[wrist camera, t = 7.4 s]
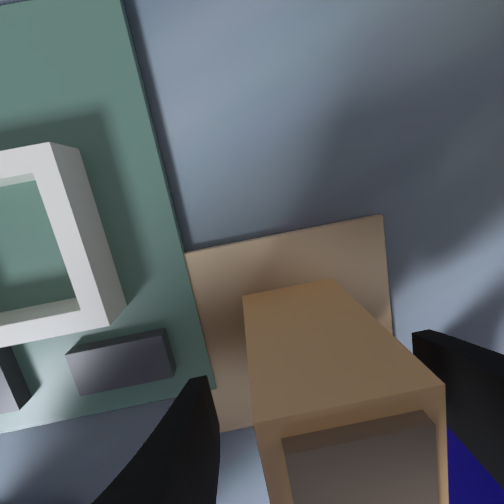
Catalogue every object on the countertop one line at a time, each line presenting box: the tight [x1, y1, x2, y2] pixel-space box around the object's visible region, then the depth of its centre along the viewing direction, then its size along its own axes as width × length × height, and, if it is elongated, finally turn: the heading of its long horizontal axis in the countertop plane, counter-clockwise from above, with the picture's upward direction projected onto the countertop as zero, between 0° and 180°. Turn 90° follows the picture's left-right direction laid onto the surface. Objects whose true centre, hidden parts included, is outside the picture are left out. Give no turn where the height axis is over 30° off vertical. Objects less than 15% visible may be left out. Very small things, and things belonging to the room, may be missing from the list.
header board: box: [0, 0, 217, 434], centre depth 11 cm, size 16×12×2 cm
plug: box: [242, 278, 449, 504], centre depth 10 cm, size 4×4×7 cm
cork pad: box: [183, 214, 393, 433], centre depth 13 cm, size 9×9×1 cm
